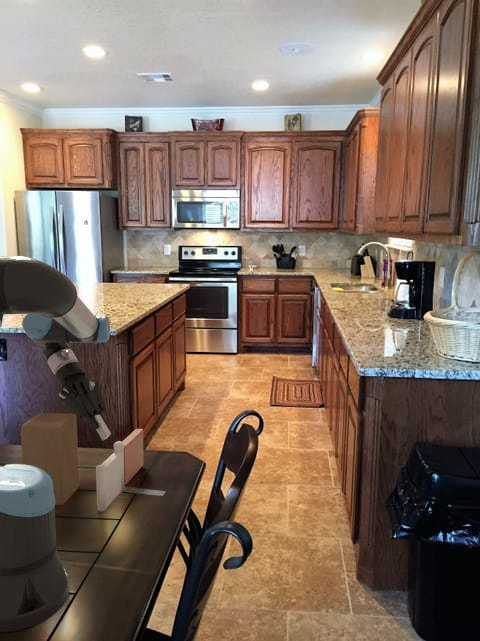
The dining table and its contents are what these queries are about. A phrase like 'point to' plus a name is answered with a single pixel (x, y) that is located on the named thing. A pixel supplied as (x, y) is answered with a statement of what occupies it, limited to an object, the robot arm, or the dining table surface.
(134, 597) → the dining table surface
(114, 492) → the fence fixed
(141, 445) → the terracotta rectangular slab
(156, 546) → the dining table surface
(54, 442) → the wooden block
